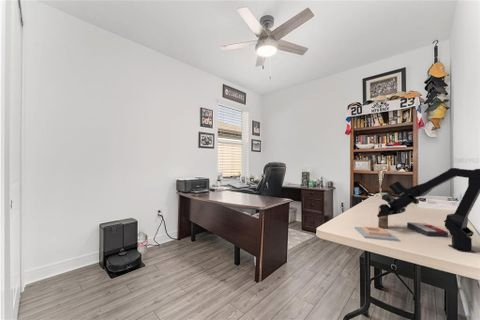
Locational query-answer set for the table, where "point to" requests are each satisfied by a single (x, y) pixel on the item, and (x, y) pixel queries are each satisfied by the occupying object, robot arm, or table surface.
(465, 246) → the robot arm
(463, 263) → the table surface
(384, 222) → the column
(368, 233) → the plinth
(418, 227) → the grey and red box
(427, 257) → the table surface
